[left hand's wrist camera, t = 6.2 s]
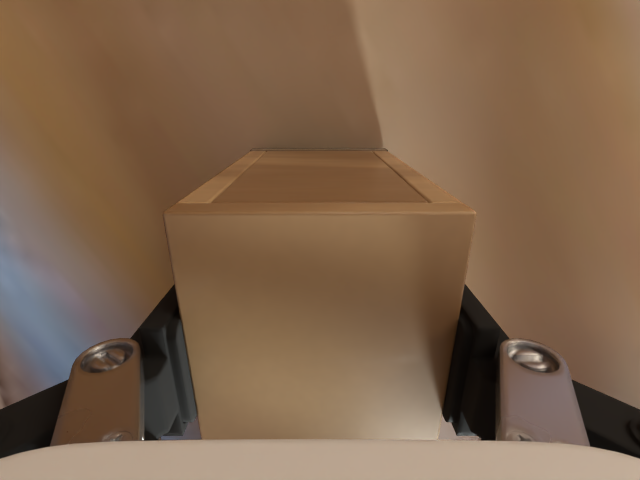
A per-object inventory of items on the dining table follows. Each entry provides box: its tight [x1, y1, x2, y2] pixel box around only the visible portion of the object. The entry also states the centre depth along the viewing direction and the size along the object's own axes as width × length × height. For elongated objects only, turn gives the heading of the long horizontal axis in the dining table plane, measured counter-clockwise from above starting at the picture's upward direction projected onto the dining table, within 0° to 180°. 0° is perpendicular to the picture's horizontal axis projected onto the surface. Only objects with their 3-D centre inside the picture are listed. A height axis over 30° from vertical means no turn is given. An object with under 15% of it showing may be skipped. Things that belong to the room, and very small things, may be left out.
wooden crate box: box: [163, 148, 476, 440], centre depth 16 cm, size 20×6×11 cm, turn 0°
